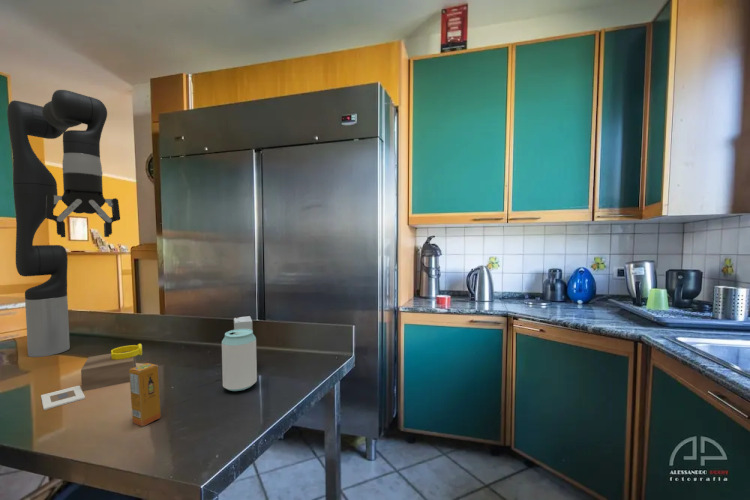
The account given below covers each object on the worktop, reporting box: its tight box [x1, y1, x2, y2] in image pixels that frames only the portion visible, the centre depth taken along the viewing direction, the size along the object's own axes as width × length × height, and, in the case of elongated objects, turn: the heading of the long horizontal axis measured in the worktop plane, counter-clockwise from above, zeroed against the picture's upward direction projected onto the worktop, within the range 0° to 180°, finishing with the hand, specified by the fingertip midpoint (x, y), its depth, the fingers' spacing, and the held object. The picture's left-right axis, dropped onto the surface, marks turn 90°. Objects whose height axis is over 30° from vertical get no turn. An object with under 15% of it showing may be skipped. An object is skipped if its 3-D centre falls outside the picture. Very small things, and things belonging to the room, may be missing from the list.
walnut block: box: [80, 351, 137, 392], centre depth 77 cm, size 9×9×5 cm
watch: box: [110, 343, 143, 360], centre depth 79 cm, size 6×3×6 cm
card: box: [40, 384, 86, 411], centre depth 68 cm, size 8×6×1 cm
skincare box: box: [233, 315, 254, 332], centre depth 84 cm, size 6×4×12 cm
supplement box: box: [129, 362, 162, 427], centre depth 59 cm, size 3×3×10 cm
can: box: [221, 329, 258, 392], centre depth 73 cm, size 7×7×12 cm
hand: (85, 237), depth 85 cm, fingers open, 8 cm apart
